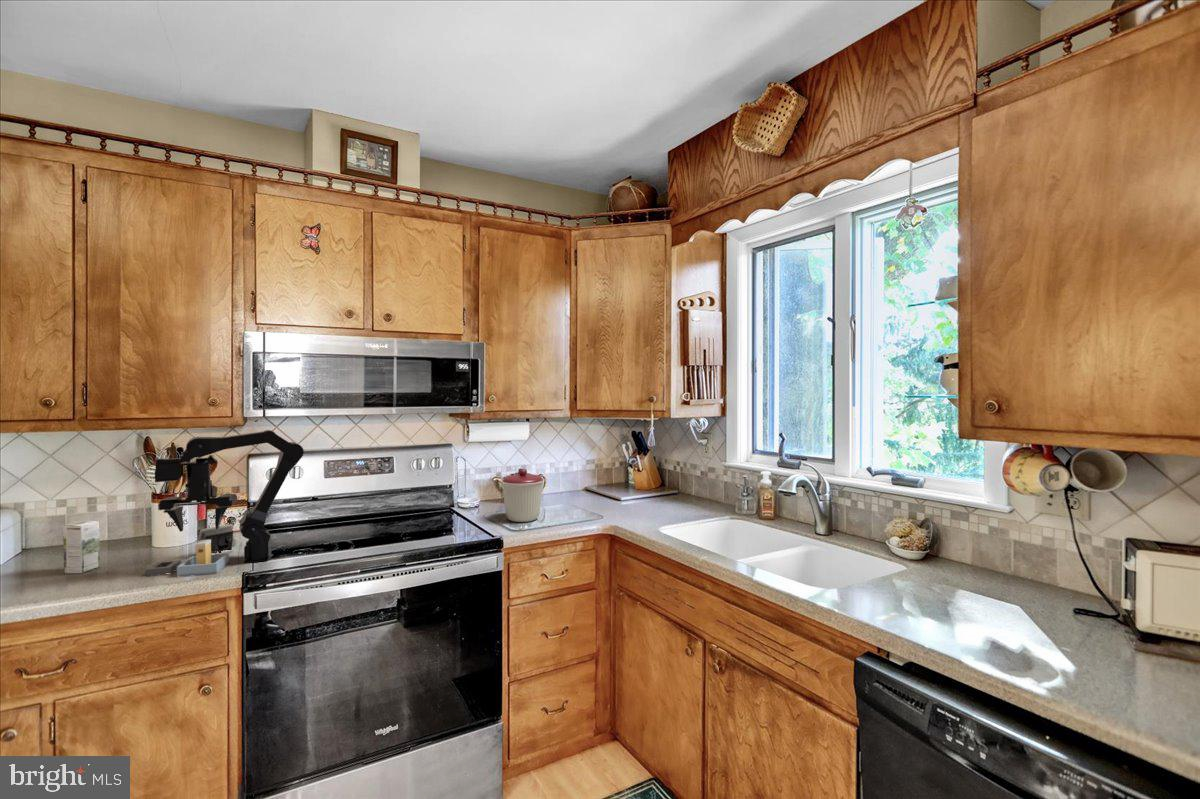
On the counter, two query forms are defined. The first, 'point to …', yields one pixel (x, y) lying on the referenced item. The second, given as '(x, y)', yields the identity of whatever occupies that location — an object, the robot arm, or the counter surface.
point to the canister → (522, 496)
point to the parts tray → (202, 566)
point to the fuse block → (163, 567)
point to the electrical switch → (218, 537)
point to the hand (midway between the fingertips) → (199, 529)
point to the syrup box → (81, 546)
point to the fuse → (203, 552)
